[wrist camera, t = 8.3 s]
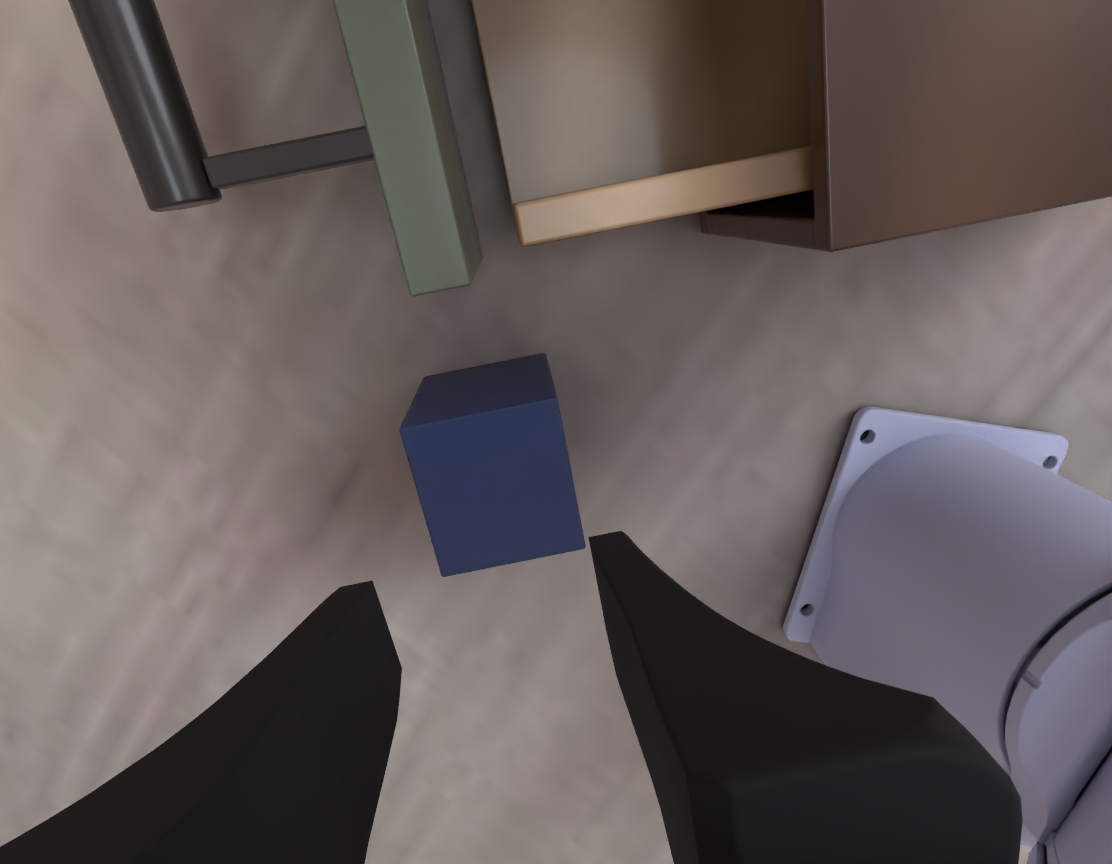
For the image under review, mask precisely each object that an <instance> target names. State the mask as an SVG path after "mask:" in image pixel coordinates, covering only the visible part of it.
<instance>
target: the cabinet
mask: <svg viewBox="0 0 1112 864" xmlns="http://www.w3.org/2000/svg"><path fill="white" fill-rule="evenodd" d="M806 1H807V27H808V53H809V80H810V106H811V132H812V158H813V184H814V190H809V191H804V192H799V193H794V194H788V195H783V196H778V197H773V198H768V199H763V200H758V201H753V202H748V203H743V204H738V205H733V206H728V207H723V208H718V209H713V210H707V211H702V212H700V217H701V227H702V233H705V234H714V235H720V236H727V237H734V238H741V239H747V240H754V241H761V242H768V243H775V244H781V245H788V246H795V247H802V248H808V249H815V250H821V251H828V252H834V251H839V250H844V249H849V248H854V247H859V246H864V245H869V244H874V243H879V242H884V241H889V240H894V239H899V238H904V237H909V236H914V235H919V234H924V233H930V232H935V231H940V230H945V229H950V228H955V227H960V226H965V225H970V224H975V223H980V222H985V221H990V220H995V219H1000V218H1005V217H1010V216H1015V215H1020V214H1025V213H1030V212H1036V211H1041V210H1046V209H1051V208H1056V207H1061V206H1066V205H1071V204H1076V203H1081V202H1086V201H1091V200H1096V199H1101V198H1106V197H1111V196H1112V0H806Z"/></svg>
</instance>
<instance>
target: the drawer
mask: <svg viewBox="0 0 1112 864" xmlns="http://www.w3.org/2000/svg"><path fill="white" fill-rule="evenodd" d="M68 1H69V3H70V6H71V9H72V11H73V14H74V16H75V19H76V21H77V24H78V27H79V29H80V32H81V34H82V37H83V39H84V42H85V45H86V47H87V50H88V52H89V55H90V58H91V60H92V63H93V65H94V68H95V70H96V73H97V76H98V78H99V81H100V83H101V86H102V88H103V91H104V94H105V96H106V99H107V101H108V104H109V107H110V109H111V112H112V114H113V117H114V119H115V122H116V125H117V127H118V130H119V132H120V135H121V137H122V140H123V143H124V145H125V148H126V150H127V153H128V156H129V158H130V161H131V163H132V166H133V168H134V171H135V174H136V176H137V179H138V181H139V184H140V186H141V189H142V192H143V194H144V197H145V199H146V202H147V205H148V207H149V209H150V210H151V211H155V212H163V211H172V210H180V209H186V208H192V207H198V206H203V205H208V204H212V203H216V202H218V201H220V200H221V199H222V195H221V192H220V190H219V189H228V188H233V187H238V186H243V185H248V184H253V183H258V182H264V181H269V180H274V179H279V178H284V177H289V176H294V175H299V174H304V173H309V172H314V171H320V170H325V169H330V168H335V167H340V166H345V165H350V164H355V163H360V162H365V161H370V160H375V164H376V167H377V171H378V175H379V179H380V183H381V186H382V190H383V194H384V198H385V202H386V205H387V209H388V213H389V217H390V221H391V224H392V228H393V232H394V236H395V240H396V244H397V247H398V251H399V255H400V259H401V263H402V266H403V270H404V274H405V278H406V282H407V285H408V289H409V293H410V295H411V296H418V295H423V294H428V293H433V292H438V291H443V290H448V289H453V288H458V287H463V286H468V285H470V284H471V281H472V279H473V277H474V275H475V273H476V270H477V268H478V266H479V264H480V262H481V260H482V257H483V256H482V251H481V247H480V242H479V237H478V233H477V228H476V224H475V219H474V214H473V210H472V205H471V201H470V196H469V191H468V187H467V182H466V178H465V173H464V169H463V164H462V159H461V155H460V150H459V146H458V141H457V136H456V132H455V127H454V123H453V118H452V114H451V109H450V104H449V100H448V95H447V91H446V86H445V81H444V77H443V72H442V68H441V63H440V58H439V54H438V49H437V45H436V40H435V36H434V31H433V26H432V22H431V17H430V13H429V8H428V3H427V0H333V4H334V7H335V11H336V15H337V19H338V23H339V26H340V30H341V34H342V38H343V42H344V45H345V49H346V53H347V57H348V61H349V65H350V68H351V72H352V76H353V80H354V84H355V87H356V91H357V95H358V99H359V103H360V106H361V110H362V114H363V118H364V122H365V125H366V126H362V127H357V128H352V129H347V130H342V131H337V132H332V133H327V134H321V135H316V136H311V137H306V138H301V139H296V140H291V141H286V142H281V143H276V144H270V145H265V146H260V147H255V148H250V149H245V150H240V151H235V152H230V153H225V154H220V155H214V156H209V157H208V155H207V152H206V149H205V146H204V143H203V141H202V138H201V135H200V132H199V129H198V126H197V123H196V120H195V118H194V115H193V112H192V109H191V106H190V103H189V100H188V97H187V95H186V92H185V89H184V86H183V83H182V80H181V77H180V74H179V71H178V69H177V66H176V63H175V60H174V57H173V54H172V51H171V48H170V46H169V43H168V40H167V37H166V34H165V31H164V28H163V25H162V23H161V20H160V17H159V14H158V11H157V8H156V5H155V2H154V0H68ZM471 4H472V9H473V14H474V19H475V24H476V29H477V34H478V39H479V44H480V50H481V55H482V60H483V65H484V70H485V75H486V80H487V85H488V90H489V95H490V100H491V105H492V110H493V115H494V121H495V126H496V131H497V136H498V141H499V146H500V151H501V156H502V161H503V166H504V171H505V176H506V181H507V186H508V192H509V197H510V202H511V207H512V212H513V217H514V222H515V227H516V232H517V234H518V237H519V240H520V243H521V244H522V246H530V245H535V244H540V243H545V242H550V241H556V240H561V239H566V238H571V237H576V236H581V235H586V234H591V233H596V232H601V231H606V230H611V229H616V228H621V227H626V226H632V225H637V224H642V223H647V222H652V221H657V220H662V219H667V218H672V217H677V216H682V215H687V214H692V213H697V212H702V211H707V210H713V209H718V208H723V207H728V206H733V205H738V204H743V203H748V202H753V201H758V200H763V199H768V198H773V197H778V196H783V195H788V194H794V193H799V192H804V191H809V190H814V184H813V158H812V132H811V106H810V80H809V53H808V27H807V1H806V0H471Z"/></svg>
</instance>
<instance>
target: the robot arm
mask: <svg viewBox="0 0 1112 864" xmlns="http://www.w3.org/2000/svg"><path fill="white" fill-rule="evenodd" d="M866 430H869V434H868V436H867V437H866V438H865V439H863V440H860V436H861V434H862V433H863V432H864V431H866ZM1068 446H1069V445H1068V441H1067V440H1066V438H1064V437H1062V436H1060V435H1057V434H1055V433H1049V432H1042V431H1036V430H1029V429H1022V428H1015V427H1009V426H1002V425H995V424H988V423H982V422H975V421H968V420H961V419H955V418H948V417H941V416H934V415H927V414H921V413H914V412H907V411H900V410H894V409H887V408H880V407H873V406H867V407H864V408H862V409H860V410H859V411H858V412H857V413H856V414H855V416H854V418H853V421H852V424H851V427H850V429H849V432H848V435H847V438H846V441H845V444H844V447H843V450H842V453H841V456H840V459H839V462H838V465H837V468H836V471H835V474H834V477H833V480H832V483H831V486H830V489H829V492H828V495H827V498H826V501H825V504H824V506H823V509H822V512H821V515H820V518H819V521H818V524H817V527H816V530H815V533H814V536H813V539H812V542H811V545H810V548H809V551H808V554H807V557H806V560H805V563H804V566H803V569H802V572H801V575H800V578H799V580H798V583H797V586H796V589H795V592H794V595H793V598H792V601H791V604H790V607H789V610H788V613H787V616H786V619H785V622H784V625H783V631H784V633H785V635H786V636H787V638H788V639H789V640H791V641H794V642H801V643H810V644H811V645H812V647H813V648H814V650H815V651H816V652H817V654H818V655H819V657H820V658H821V660H822V661H823V663H824V664H825V665H823V664H820V663H818V662H815V661H813V660H810V659H808V658H805V657H803V656H800V655H798V654H796V653H793V652H791V651H789V650H787V649H785V648H782V647H780V646H778V645H776V644H774V643H771V642H769V641H767V640H765V639H763V638H761V637H759V636H757V635H755V634H753V633H751V632H749V631H747V630H745V629H744V628H742V627H740V626H739V625H737V624H735V623H733V622H732V621H730V620H728V619H726V618H725V617H723V616H722V615H720V614H718V613H717V612H715V611H714V610H713V609H711V608H710V607H708V606H707V605H705V604H704V603H703V602H701V601H700V600H698V599H697V598H696V597H694V596H693V595H692V594H690V593H689V592H688V591H686V590H685V589H684V588H683V587H681V586H680V585H679V584H678V583H676V582H675V581H674V580H673V579H672V578H671V577H669V576H668V575H667V574H666V573H665V572H663V571H662V570H661V569H660V568H659V567H658V566H657V565H656V564H654V563H653V562H652V561H651V560H650V559H649V558H648V557H647V556H646V555H645V554H644V553H643V552H642V551H641V550H640V549H639V548H638V547H637V546H636V545H635V544H634V542H633V541H632V540H631V539H630V538H629V537H628V535H626V534H625V533H623V532H622V531H618V532H613V533H608V534H603V535H598V536H593V537H589V542H590V547H591V552H592V558H593V563H594V568H595V573H596V579H597V584H598V589H599V594H600V600H601V605H602V610H603V616H604V621H605V626H606V631H607V635H608V640H609V644H610V649H611V653H612V658H613V662H614V667H615V671H616V676H617V679H618V682H619V685H620V688H621V690H622V693H623V696H624V699H625V702H626V705H627V708H628V711H629V714H630V717H631V720H632V723H633V726H634V729H635V732H636V735H637V738H638V741H639V743H640V746H641V749H642V752H643V755H644V758H645V761H646V764H647V767H648V770H649V773H650V776H651V779H652V782H653V785H654V788H655V792H656V795H657V798H658V802H659V805H660V808H661V812H662V816H663V821H664V825H665V829H666V833H667V837H668V841H669V845H670V849H671V854H672V858H673V862H674V864H1018V862H1019V852H1020V845H1024V846H1029V847H1033V848H1032V850H1031V851H1030V853H1029V856H1028V860H1027V864H1112V501H1110V500H1108V499H1106V498H1104V497H1102V496H1100V495H1098V494H1096V493H1094V492H1092V491H1090V490H1088V489H1086V488H1084V487H1082V486H1080V485H1078V484H1076V483H1074V482H1072V481H1070V480H1068V479H1066V478H1064V477H1062V476H1060V475H1058V474H1057V472H1058V470H1059V468H1060V466H1061V464H1062V462H1063V459H1064V457H1065V455H1066V453H1067V450H1068ZM1047 457H1048V460H1047V461H1046V462H1045V463H1044V464H1043V461H1044V460H1045V459H1046V458H1047ZM805 604H809V605H808V607H807V608H805V609H801V608H802V606H804V605H805ZM401 672H402V667H401V664H400V661H399V658H398V655H397V652H396V649H395V646H394V643H393V640H392V638H391V635H390V632H389V629H388V626H387V623H386V620H385V617H384V614H383V611H382V608H381V605H380V602H379V599H378V596H377V593H376V590H375V587H374V584H373V581H368V582H363V583H358V584H353V585H348V586H343V587H340V588H339V589H337V590H336V591H335V592H334V593H332V594H331V595H330V596H329V597H328V598H327V599H326V600H325V601H324V602H322V603H321V604H320V605H319V606H318V607H317V608H316V609H315V610H314V611H313V612H312V613H311V614H310V615H309V616H308V617H307V618H306V619H305V620H304V621H303V622H302V623H301V624H300V625H299V626H298V627H297V628H296V629H295V630H294V631H293V632H291V633H290V634H289V635H288V636H287V637H286V638H285V639H284V640H283V641H282V642H281V643H280V644H279V645H278V646H277V647H276V648H275V649H274V650H273V651H272V652H271V653H270V654H269V655H268V656H267V657H266V658H264V659H263V660H262V661H261V662H260V663H259V664H258V665H257V666H256V667H254V668H253V669H252V670H251V671H250V672H249V673H248V674H247V675H245V676H244V677H243V678H242V679H241V680H240V681H239V682H238V683H237V684H235V685H234V686H233V687H232V688H231V689H230V690H229V691H228V692H227V693H225V694H224V695H223V696H222V697H221V698H220V699H219V700H217V701H216V702H215V703H214V704H213V705H211V706H210V707H209V708H208V709H207V710H205V711H204V712H203V713H202V714H200V715H199V716H198V717H197V718H195V719H194V720H193V721H192V722H190V723H189V724H188V725H186V726H185V727H184V728H182V729H181V730H180V731H178V732H177V733H176V734H175V735H173V736H172V737H171V738H169V739H168V740H167V741H165V742H164V743H163V744H161V745H160V746H159V747H157V748H156V749H154V750H153V751H152V752H150V753H149V754H147V755H146V756H144V757H143V758H141V759H140V760H138V761H137V762H136V763H134V764H133V765H131V766H130V767H128V768H127V769H125V770H124V771H122V772H121V773H119V774H118V775H116V776H115V777H113V778H112V779H111V780H109V781H108V782H106V783H105V784H103V785H102V786H100V787H99V788H97V789H96V790H94V791H93V792H91V793H90V794H88V795H87V796H85V797H83V798H82V799H80V800H79V801H77V802H75V803H74V804H72V805H71V806H69V807H67V808H66V809H64V810H62V811H61V812H59V813H58V814H56V815H54V816H53V817H51V818H49V819H48V820H46V821H44V822H43V823H41V824H39V825H37V826H36V827H34V828H32V829H31V830H29V831H27V832H25V833H24V834H22V835H20V836H19V837H17V838H15V839H13V840H12V841H10V842H8V843H6V844H5V845H3V846H1V847H0V864H364V863H365V858H366V853H367V847H368V842H369V838H370V834H371V829H372V825H373V821H374V817H375V812H376V808H377V804H378V800H379V796H380V791H381V787H382V783H383V779H384V775H385V770H386V766H387V762H388V758H389V753H390V749H391V744H392V740H393V736H394V731H395V727H396V722H397V715H398V706H399V697H400V685H401Z"/></svg>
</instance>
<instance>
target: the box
mask: <svg viewBox="0 0 1112 864" xmlns="http://www.w3.org/2000/svg"><path fill="white" fill-rule="evenodd" d="M400 434H401V437H402V441H403V444H404V448H405V451H406V455H407V458H408V461H409V465H410V468H411V472H412V475H413V479H414V482H415V486H416V489H417V493H418V496H419V499H420V503H421V506H422V510H423V513H424V517H425V520H426V524H427V527H428V530H429V534H430V537H431V541H432V544H433V548H434V551H435V555H436V558H437V561H438V565H439V568H440V572H441V575H442V576H443V577H446V576H451V575H456V574H461V573H466V572H471V571H475V570H480V569H485V568H490V567H495V566H500V565H505V564H510V563H515V562H520V561H525V560H530V559H535V558H540V557H545V556H550V555H555V554H560V553H565V552H570V551H575V550H580V549H584V548H585V546H586V545H585V540H584V535H583V530H582V525H581V519H580V514H579V509H578V504H577V499H576V493H575V488H574V483H573V478H572V473H571V467H570V462H569V457H568V452H567V447H566V441H565V436H564V431H563V426H562V421H561V415H560V410H559V405H558V400H557V396H556V392H555V388H554V384H553V380H552V376H551V373H550V369H549V365H548V361H547V357H546V354H538V355H533V356H528V357H523V358H518V359H513V360H508V361H503V362H498V363H493V364H488V365H483V366H478V367H473V368H468V369H463V370H458V371H453V372H448V373H443V374H438V375H433V376H428V377H424V379H423V381H422V383H421V385H420V387H419V389H418V391H417V393H416V395H415V398H414V400H413V402H412V404H411V406H410V408H409V410H408V412H407V414H406V416H405V419H404V421H403V423H402V425H401V427H400Z"/></svg>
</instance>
